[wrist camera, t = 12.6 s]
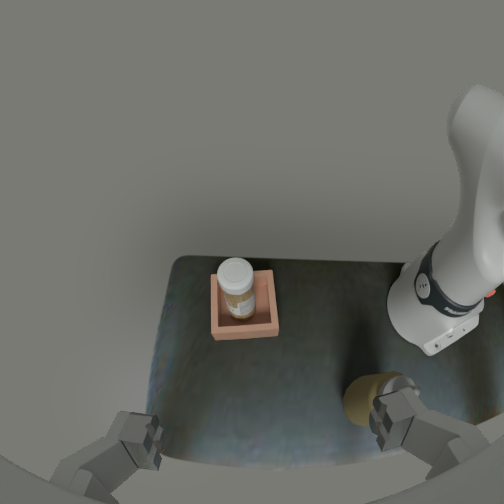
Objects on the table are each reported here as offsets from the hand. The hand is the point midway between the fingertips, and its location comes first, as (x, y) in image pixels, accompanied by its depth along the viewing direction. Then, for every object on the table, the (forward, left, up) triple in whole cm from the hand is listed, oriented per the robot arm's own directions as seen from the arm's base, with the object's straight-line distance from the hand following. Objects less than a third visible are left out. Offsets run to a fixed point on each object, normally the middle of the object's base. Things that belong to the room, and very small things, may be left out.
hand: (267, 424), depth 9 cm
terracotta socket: (+2, -17, -33) cm, 38 cm away
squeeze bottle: (-15, +1, -34) cm, 37 cm away
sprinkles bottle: (+2, -17, -33) cm, 37 cm away
